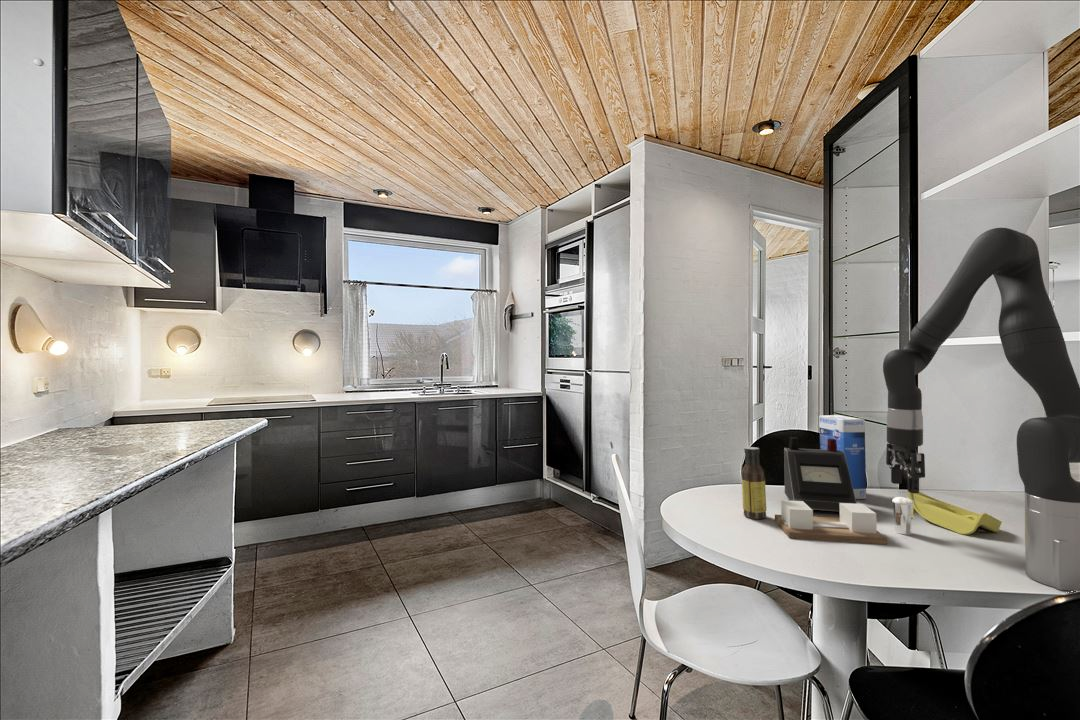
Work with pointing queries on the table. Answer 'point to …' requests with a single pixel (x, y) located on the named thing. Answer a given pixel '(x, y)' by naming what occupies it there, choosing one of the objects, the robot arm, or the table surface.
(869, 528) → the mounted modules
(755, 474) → the sauce bottle
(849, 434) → the string lights box
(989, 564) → the table surface
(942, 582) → the table surface
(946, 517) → the plastic component
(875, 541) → the rail board
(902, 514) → the milkshake
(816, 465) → the voltmeter
